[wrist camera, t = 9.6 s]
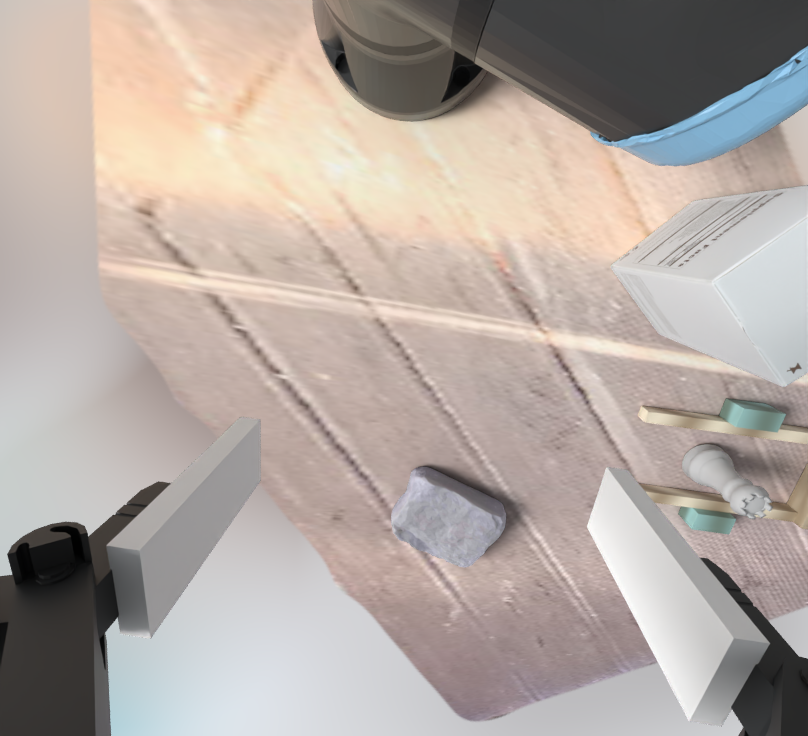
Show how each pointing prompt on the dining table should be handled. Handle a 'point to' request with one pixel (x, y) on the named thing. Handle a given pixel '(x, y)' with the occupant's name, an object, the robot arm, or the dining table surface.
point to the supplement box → (730, 280)
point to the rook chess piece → (725, 480)
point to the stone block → (447, 517)
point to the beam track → (737, 419)
